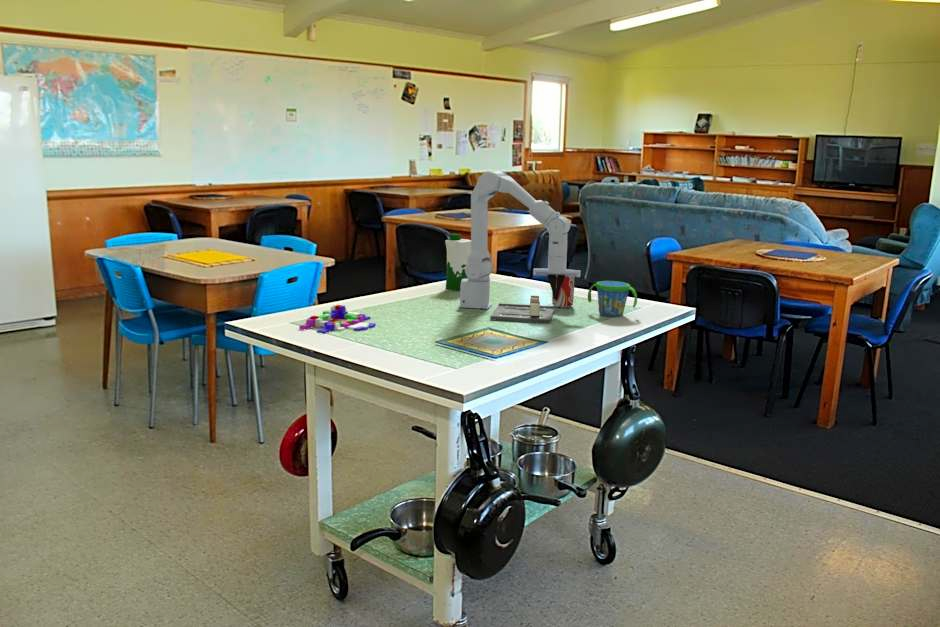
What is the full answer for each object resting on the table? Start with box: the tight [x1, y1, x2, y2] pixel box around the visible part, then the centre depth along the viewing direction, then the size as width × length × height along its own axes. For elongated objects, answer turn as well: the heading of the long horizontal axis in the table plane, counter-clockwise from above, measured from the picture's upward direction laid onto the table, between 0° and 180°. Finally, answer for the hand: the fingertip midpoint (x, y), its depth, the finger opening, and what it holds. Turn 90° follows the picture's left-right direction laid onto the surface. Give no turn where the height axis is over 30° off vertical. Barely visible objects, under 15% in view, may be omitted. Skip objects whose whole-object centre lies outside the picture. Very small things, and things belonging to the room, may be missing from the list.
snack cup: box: [587, 280, 638, 318], centre depth 252 cm, size 16×10×10 cm
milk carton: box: [444, 233, 471, 292], centre depth 289 cm, size 9×9×20 cm
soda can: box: [551, 276, 575, 309], centre depth 263 cm, size 7×7×12 cm
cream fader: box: [530, 300, 541, 316], centre depth 242 cm, size 2×4×4 cm, turn 170°
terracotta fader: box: [529, 295, 540, 309], centre depth 251 cm, size 2×4×4 cm, turn 170°
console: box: [490, 302, 556, 324], centre depth 248 cm, size 18×18×2 cm
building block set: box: [299, 304, 376, 334], centre depth 232 cm, size 25×20×4 cm
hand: (555, 298), depth 250 cm, fingers closed
